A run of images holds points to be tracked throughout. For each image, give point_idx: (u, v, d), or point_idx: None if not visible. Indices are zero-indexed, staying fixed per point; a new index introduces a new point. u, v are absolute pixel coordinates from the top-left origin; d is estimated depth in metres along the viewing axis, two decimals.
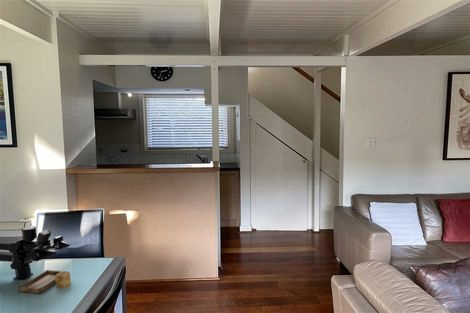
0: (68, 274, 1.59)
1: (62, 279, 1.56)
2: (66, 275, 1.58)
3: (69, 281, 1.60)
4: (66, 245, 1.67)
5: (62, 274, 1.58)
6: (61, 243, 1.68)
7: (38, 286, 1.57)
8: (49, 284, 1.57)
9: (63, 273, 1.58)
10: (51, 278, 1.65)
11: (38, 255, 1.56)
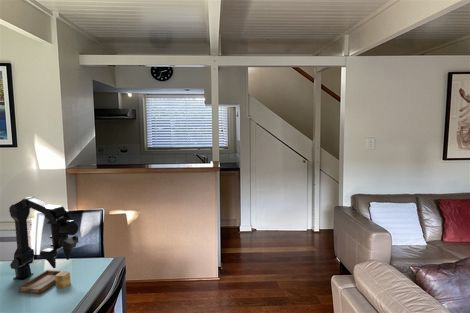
0: (68, 274, 1.59)
1: (62, 279, 1.56)
2: (66, 275, 1.58)
3: (69, 281, 1.60)
4: (67, 256, 1.62)
5: (62, 274, 1.58)
6: (68, 250, 1.62)
7: (38, 286, 1.57)
8: (49, 284, 1.57)
9: (63, 273, 1.58)
10: (51, 278, 1.65)
11: None
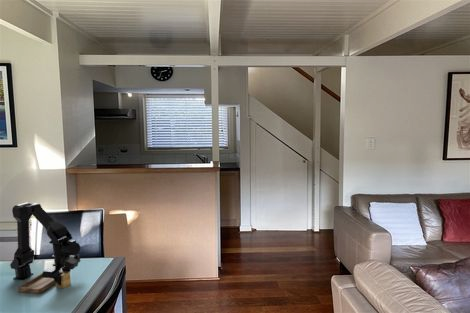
0: (68, 274, 1.59)
1: (62, 279, 1.56)
2: (66, 275, 1.58)
3: (69, 281, 1.60)
4: None
5: (62, 274, 1.58)
6: (67, 271, 1.61)
7: (38, 286, 1.57)
8: (49, 284, 1.57)
9: (63, 273, 1.58)
10: (51, 278, 1.65)
11: None
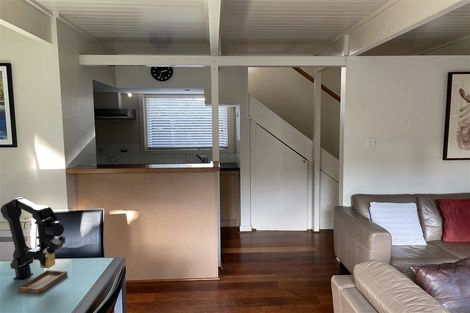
0: (53, 255, 1.60)
1: (46, 260, 1.57)
2: (51, 255, 1.59)
3: (54, 262, 1.61)
4: None
5: (47, 255, 1.58)
6: (52, 252, 1.61)
7: (38, 286, 1.57)
8: (49, 284, 1.57)
9: (48, 254, 1.59)
10: (51, 278, 1.65)
11: None
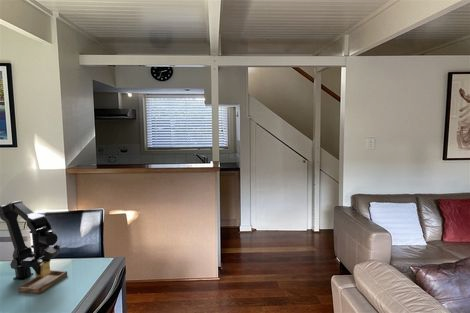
0: (48, 264, 1.61)
1: (41, 269, 1.58)
2: (45, 264, 1.60)
3: (49, 271, 1.62)
4: None
5: (41, 263, 1.59)
6: None
7: (38, 286, 1.57)
8: (49, 284, 1.57)
9: (43, 263, 1.60)
10: (51, 278, 1.65)
11: None
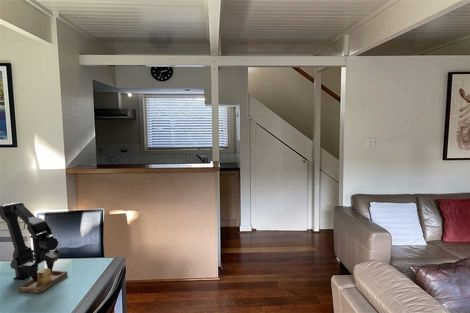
0: (48, 271, 1.61)
1: (42, 276, 1.58)
2: (46, 272, 1.60)
3: (50, 278, 1.62)
4: None
5: (42, 271, 1.60)
6: (50, 263, 1.65)
7: (38, 286, 1.57)
8: (49, 284, 1.57)
9: (44, 270, 1.60)
10: (51, 278, 1.65)
11: None
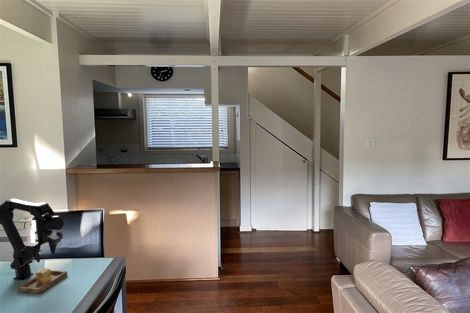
0: (48, 271, 1.61)
1: (42, 276, 1.58)
2: (46, 272, 1.60)
3: (50, 278, 1.62)
4: (52, 251, 1.68)
5: (42, 271, 1.60)
6: (53, 245, 1.68)
7: (38, 286, 1.57)
8: (49, 284, 1.57)
9: (44, 270, 1.60)
10: (51, 278, 1.65)
11: None
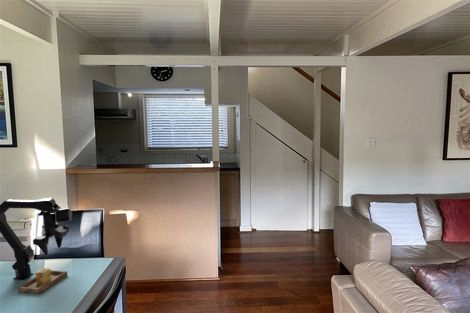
0: (48, 271, 1.61)
1: (42, 276, 1.58)
2: (46, 272, 1.60)
3: (50, 278, 1.62)
4: (58, 245, 1.75)
5: (42, 271, 1.60)
6: (59, 239, 1.75)
7: (38, 286, 1.57)
8: (49, 284, 1.57)
9: (44, 270, 1.60)
10: (51, 278, 1.65)
11: None
